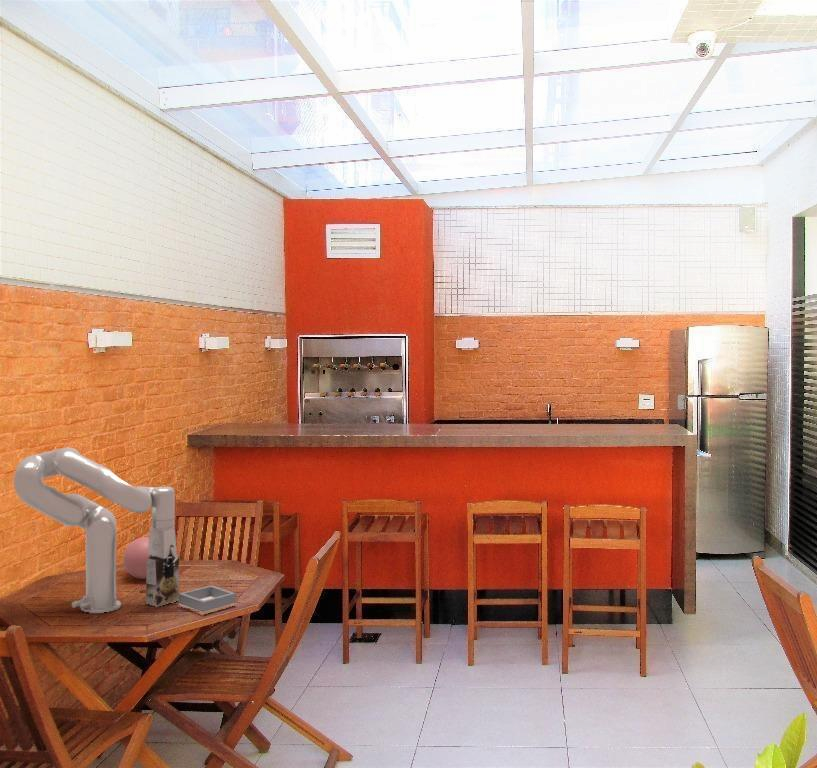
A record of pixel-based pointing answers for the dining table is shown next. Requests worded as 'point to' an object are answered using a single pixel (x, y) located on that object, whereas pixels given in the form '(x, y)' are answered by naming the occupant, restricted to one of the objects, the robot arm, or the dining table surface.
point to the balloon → (137, 558)
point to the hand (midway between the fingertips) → (162, 574)
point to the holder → (206, 598)
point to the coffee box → (161, 582)
